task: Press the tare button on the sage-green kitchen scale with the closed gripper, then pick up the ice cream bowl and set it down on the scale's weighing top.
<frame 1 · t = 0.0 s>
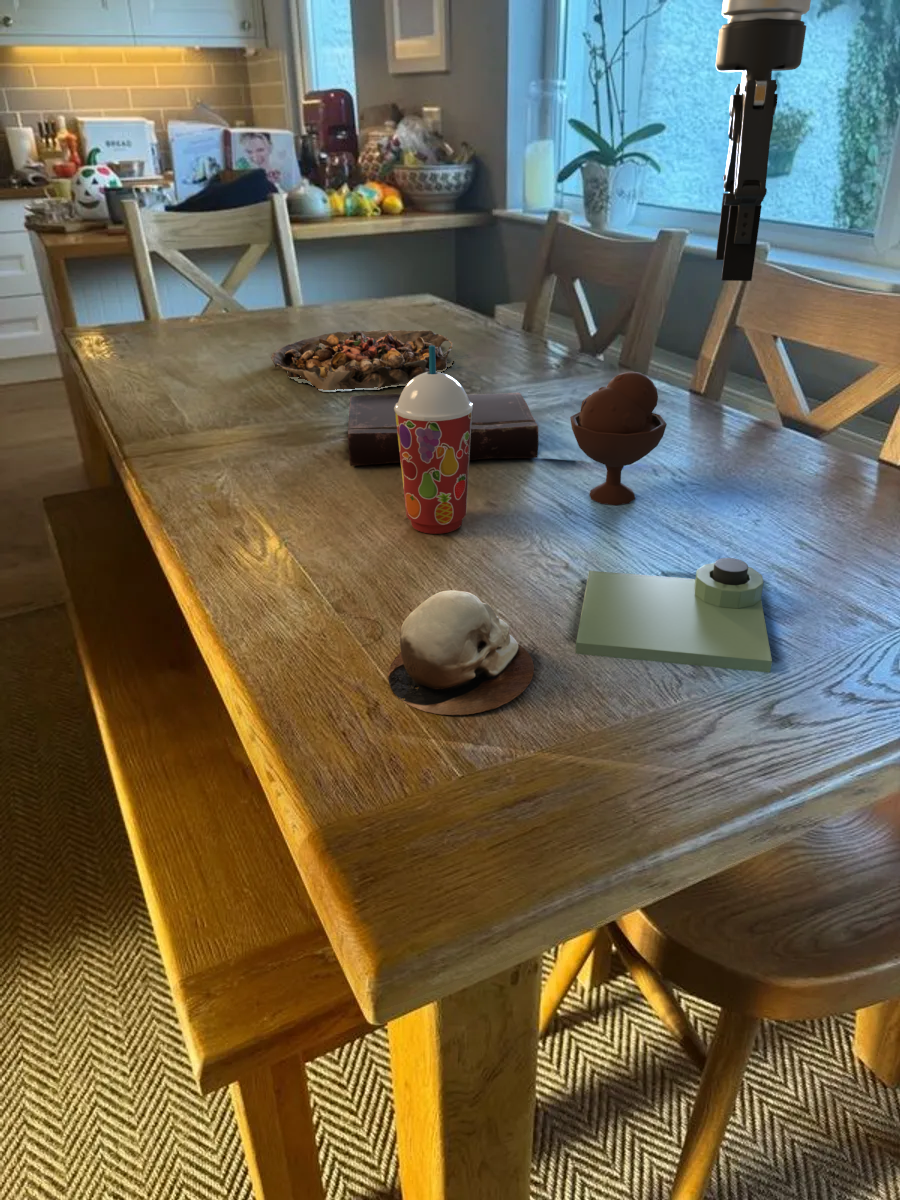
hand: (732, 269, 91), 27 cm above the table, tool pointing down, fingers open, 13 cm apart
tare button: (730, 572, 83), point 3 cm above the table, slide at 0.1 cm
ice cream bowl: (612, 497, 109), on the table
skull: (460, 677, 75), on the table
smoothie: (436, 526, 103), on the table
food dish: (366, 369, 167), on the table
scale: (670, 623, 82), on the table
diary: (440, 444, 128), on the table
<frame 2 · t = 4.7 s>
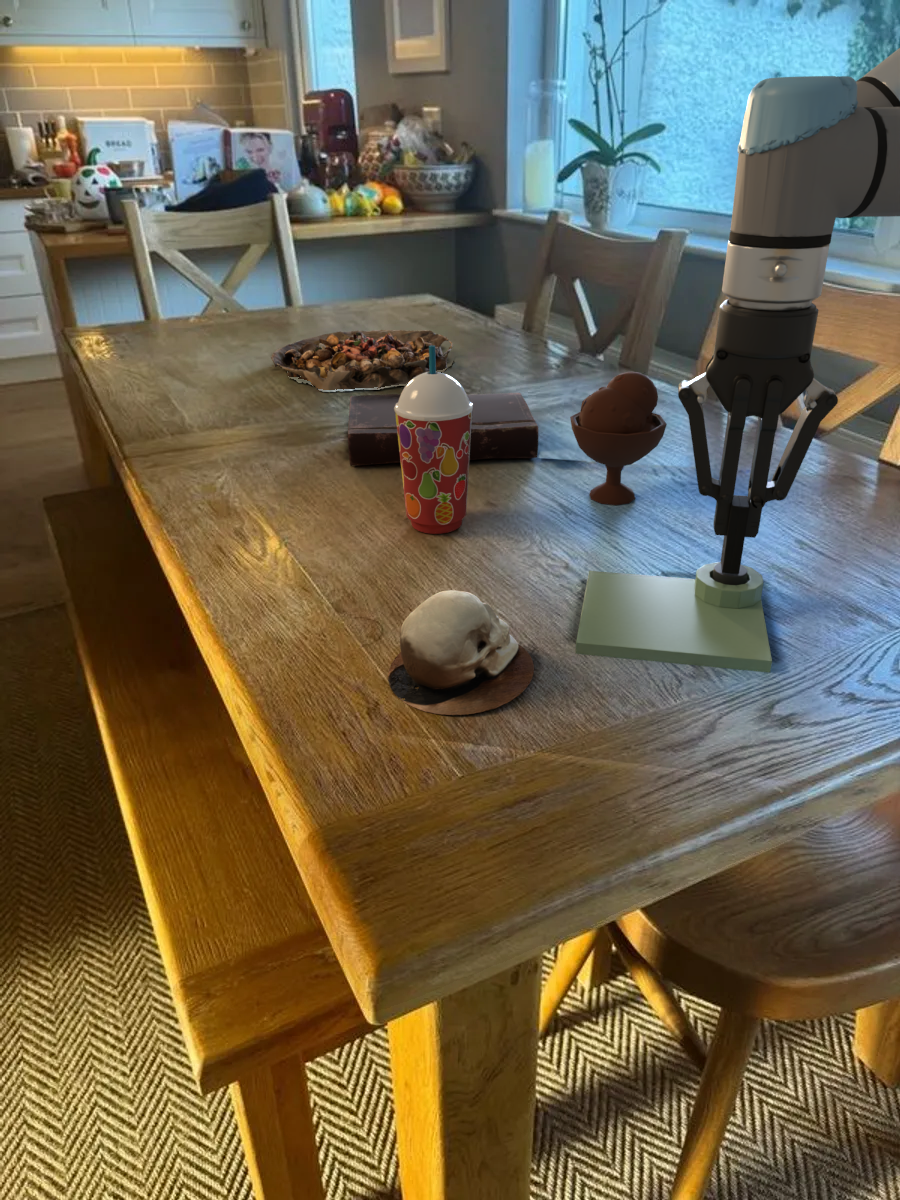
hand: (729, 566, 83), 4 cm above the table, tool pointing down, fingers closed
tare button: (729, 576, 83), point 3 cm above the table, slide at -0.3 cm, touching gripper
everything else where it was.
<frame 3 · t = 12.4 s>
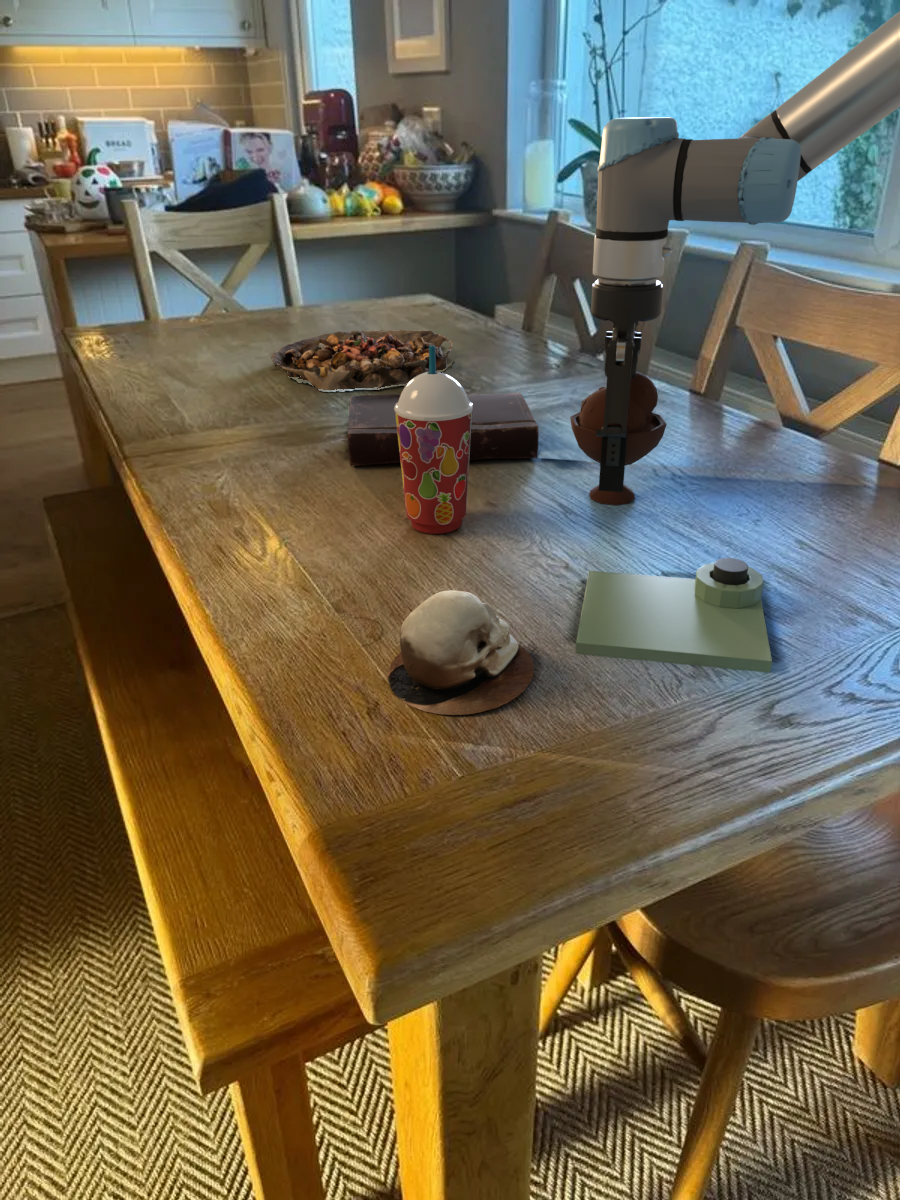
hand: (613, 472, 108), 3 cm above the table, tool pointing down, fingers closed on ice cream bowl, 11 cm apart
tare button: (730, 572, 83), point 3 cm above the table, slide at 0.1 cm
ice cream bowl: (611, 497, 109), on the table, touching gripper
everything else where it was.
when the fingers open (4 cm above the table, at t = 21.1 s): ice cream bowl stays where it is, resting on scale.
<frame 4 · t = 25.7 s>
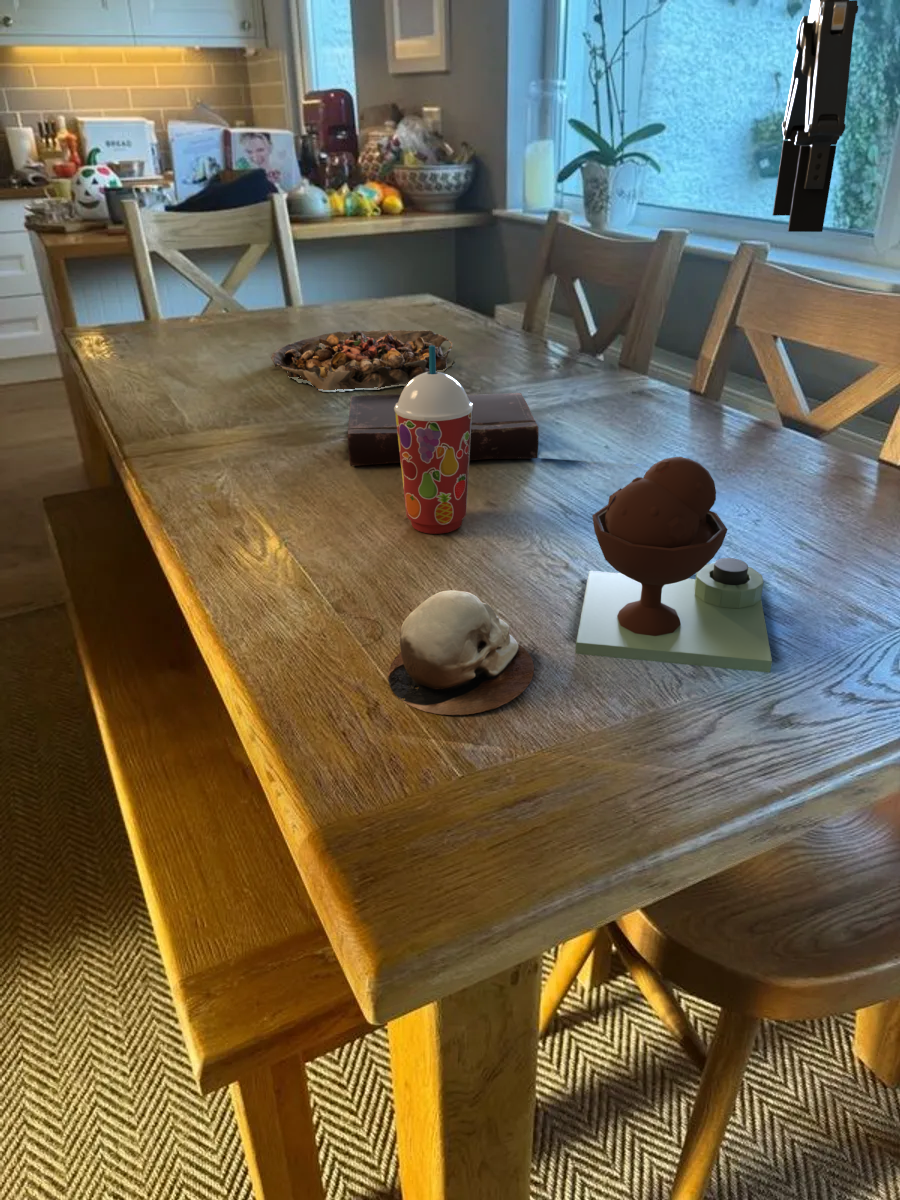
hand: (795, 223, 82), 32 cm above the table, tool pointing down, fingers open, 13 cm apart
ice cream bowl: (648, 622, 80), point 1 cm above the table, touching scale
everything else where it was.
at the end: tare button pushed in 1.0 cm at the most during the clip, back to where it started at the end; ice cream bowl inside the target area on the scale (1.0 cm from its centre), point 1.0 cm above the scale's base; ice cream bowl touching scale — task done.
